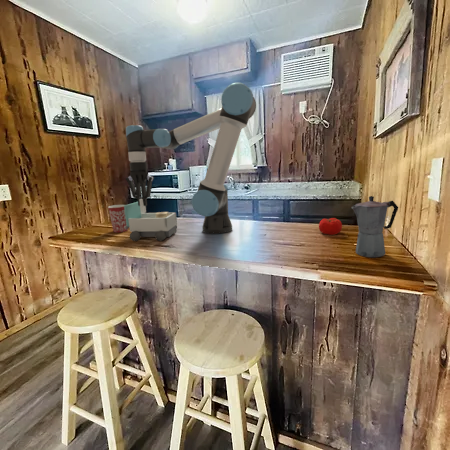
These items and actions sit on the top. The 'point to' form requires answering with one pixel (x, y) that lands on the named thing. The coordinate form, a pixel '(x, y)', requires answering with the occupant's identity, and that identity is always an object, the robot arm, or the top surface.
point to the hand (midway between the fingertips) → (143, 212)
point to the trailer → (152, 226)
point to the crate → (161, 214)
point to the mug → (118, 218)
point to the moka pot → (372, 226)
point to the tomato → (330, 226)
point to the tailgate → (132, 212)
